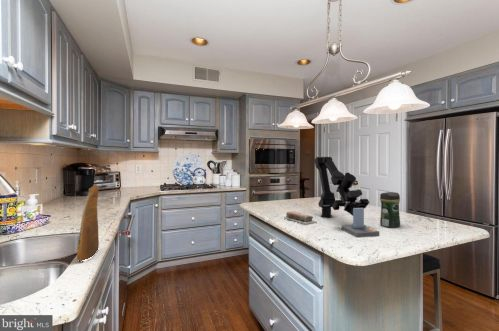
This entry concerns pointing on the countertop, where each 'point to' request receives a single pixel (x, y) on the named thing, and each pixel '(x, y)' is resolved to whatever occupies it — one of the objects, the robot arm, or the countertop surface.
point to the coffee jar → (390, 209)
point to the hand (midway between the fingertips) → (357, 217)
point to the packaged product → (299, 218)
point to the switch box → (360, 231)
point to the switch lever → (358, 218)
